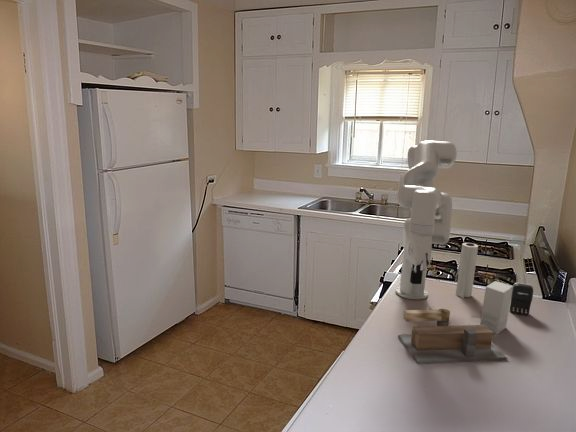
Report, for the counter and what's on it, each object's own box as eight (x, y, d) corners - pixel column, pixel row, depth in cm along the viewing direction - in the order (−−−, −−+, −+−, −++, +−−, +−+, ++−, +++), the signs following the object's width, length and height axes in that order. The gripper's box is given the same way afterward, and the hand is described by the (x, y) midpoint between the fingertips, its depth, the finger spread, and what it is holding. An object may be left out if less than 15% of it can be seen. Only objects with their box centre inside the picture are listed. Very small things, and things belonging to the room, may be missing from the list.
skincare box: (488, 321, 166) (494, 280, 163) (507, 327, 162) (514, 285, 158) (478, 328, 160) (484, 285, 157) (498, 335, 156) (504, 291, 152)
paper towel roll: (461, 290, 194) (468, 241, 189) (474, 295, 189) (481, 245, 184) (450, 294, 190) (457, 243, 185) (463, 299, 185) (470, 247, 180)
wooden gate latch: (397, 336, 152) (400, 312, 150) (478, 334, 156) (481, 310, 154) (417, 363, 136) (420, 336, 134) (506, 360, 140) (510, 334, 138)
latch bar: (445, 316, 153) (446, 308, 152) (451, 321, 149) (452, 313, 149) (402, 317, 151) (403, 309, 150) (406, 322, 147) (407, 314, 147)
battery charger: (509, 313, 174) (513, 284, 171) (508, 309, 177) (513, 281, 175) (529, 317, 171) (534, 288, 168) (529, 313, 174) (534, 284, 172)
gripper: (401, 223, 156) (396, 275, 159) (419, 234, 141) (413, 291, 145) (422, 223, 157) (417, 275, 160) (443, 234, 142) (436, 291, 146)
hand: (415, 283), depth 153 cm, fingers closed
